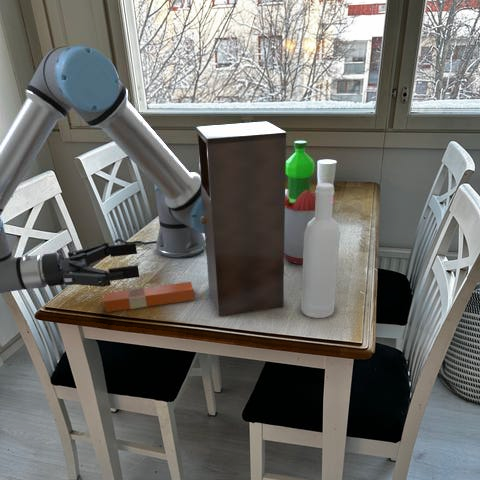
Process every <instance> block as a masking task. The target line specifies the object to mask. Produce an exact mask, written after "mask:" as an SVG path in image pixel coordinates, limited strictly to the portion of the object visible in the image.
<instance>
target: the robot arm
mask: <svg viewBox="0 0 480 480" xmlns="http://www.w3.org/2000/svg"><path fill="white" fill-rule="evenodd" d="M118 73H119V72H118V71H117V69H116V67H115V65H114V64H113V62H112V61H111V60H110V59H109V57H107V56H106V55H105V53H103V52H101V51H99V50H98V49H94V48H93V47H91V46H87V45H71V46H67V45H65V46H64V45H63V46H57V47H55V48H53V49H51V50H49V52H47V53H46V54H45V56H44V57H43V59H42V60H41V61H40V63H39V65H38V67H37V69H36V70H35V72H34V75H33V76H32V78H31V80H30V82H29V84H28V86H27V87H26V89H25V90H24V91H25V96H26V99H25V101H24V102H23V104H22V105H21V107H20V109H19V111H18V113H17V114H16V116H15V117H14V119H13V121H12V123H11V124H10V126H9V127H8V130H7V131H6V132H5V134H4V136H3V138H2V140H1V141H0V216H1V215H2V213H4V210H5V208H6V206H7V204H8V203H9V201H10V200H11V198H12V196H13V195H14V193H15V192H16V190H17V188H18V187H19V185H20V184H21V182H22V180H23V179H24V177H25V175H26V174H27V172H28V171H29V169H30V167H31V165H32V164H33V162H34V161H35V159H36V157H37V155H38V153H39V152H40V151H41V149H42V147H43V146H44V144H45V142H46V141H47V139H48V137H49V136H50V134H51V132H52V131H53V129H54V127H55V126H56V124H57V123H58V121H61V120H65V119H66V117H67V115H68V114H69V112H70V111H72V109H73V111H75V112H76V114H77V115H78V116H79V117H80V118H81V119H82V120H83V121H84V122H85V123H86V124H87V125H88V126H89V127H90V128H100V129H101V130H102V131H103V132H104V133H105V134H106V135H107V136H108V137H109V138H110V139H111V141H112V142H114V143H115V144H116V146H117V147H119V149H120V150H121V151H123V153H124V154H125V155H126V156H127V157H128V158H129V159H130V160H131V161H132V162H133V163H134V164H135V165H136V166H137V167H138V168H139V169H140V171H142V173H143V174H144V175H145V176H146V177H147V178H148V179H149V180H150V181H151V182H152V183H153V184H154V193H155V194H154V195H155V200H156V209H157V215H158V223H159V229H158V234H157V238H156V240H153V241H142V240H134V241H127V240H124V239H122V238H117V239H115V240H114V243H115V244H113V245H109V242H108V241H106V242H105V241H104V242H101V243H98V244H95V245H91V246H88V247H85V248H82V249H79V250H73V251H67V257H62V255H61V253H59V252H51V253H44V254H43V255H40V254H36V255H29V254H25V255H24V256H18V257H14V256H13V252H12V250H11V248H10V244H9V240H8V237H7V234H6V231H5V227H4V221H3V220H2V218H1V217H0V294H4V293H10V292H17V291H24V290H34V289H43V288H47V286H49V287H56V286H57V287H58V286H64V285H65V286H74V285H77V286H88V287H98V288H99V287H100V288H106V287H109V286H111V285H112V283H111V282H113V281H120V280H127V279H135V278H140V270H139V264H133V265H126V266H119V267H111V268H110V267H109V268H108V270H105V269H100V268H96V267H91V266H90V265H91V264H94V263H97V262H98V261H101V260H103V259H105V258H107V257H109V256H110V257H111V258H116V257H123V256H133V255H138V249H137V244H141V245H144V246H145V245H153V244H156V252H157V253H158V254H159V255H160V256H163V257H166V258H170V259H171V258H172V259H179V258H181V259H182V258H188V257H192V256H193V257H194V256H196V255H198V254H201V253H202V252H203V251H205V250H206V243H205V236H204V235H205V230H204V225H202V224H201V219H200V218H201V217H203V204H202V192H201V179H200V174H198V173H197V172H189V170H188V169H187V168H186V167H185V166H184V164H183V163H181V161H180V160H179V159H178V157H177V156H176V155H175V154H174V153H173V152H172V151H171V150H170V148H169V147H168V146H167V145H166V143H164V141H163V140H162V139H161V138H160V137H159V136H158V135H157V133H156V132H155V130H153V128H152V127H151V126H150V125H149V124H148V123H147V121H146V119H144V118H143V117H142V116H141V115H140V113H139V112H138V110H136V109H135V107H134V106H133V105H132V104H131V103H130V102H129V100H128V96H129V95H128V93H129V92H128V89H127V87H126V86H125V85H124V84H123V83H122V82H121V80H120V76H119V74H118ZM118 242H121V243H122V244H117V243H118Z"/></svg>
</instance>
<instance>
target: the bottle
mask: <svg viewBox="0 0 480 480" xmlns="http://www.w3.org/2000/svg"><path fill="white" fill-rule="evenodd" d="M314 193H315V194H316V203H315V217H314V218H313V219H312V220H311V221H310V222H308V225H307V227H306V230H305V233H304V253H303V264H302V276H301V277H302V278H301V279H302V280H301V282H302V284H301V298H300V299H301V300H300V305H301V306H300V308H301V309H300V310H301V312H302V313H303V314H304V315H305V316H307V317H310V318H314V319H323V318H328V317H330V316H331V315H333V314H334V312H335V304H336V289H337V278H338V277H337V276H338V266H339V255H340V241H341V230H340V226H339V223H338V222H337V221H336V220H335V219H334V217H333V218H332V207H333V199H334V195H335V185H332V184H330V183H320V184H318V183H317V184H316V187H315V191H314ZM333 208H334V207H333Z"/></svg>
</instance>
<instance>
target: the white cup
mask: <svg viewBox="0 0 480 480" xmlns="http://www.w3.org/2000/svg"><path fill="white" fill-rule="evenodd" d="M337 163H338V162H337V160H335V159H329V158H327V159H319V160H317V167H316V168H317V173H316V174H317V185H318V184H320V183H330V184H332V185H333V186H335V185H334V183H335V177H336V171H337Z"/></svg>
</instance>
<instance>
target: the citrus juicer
mask: <svg viewBox="0 0 480 480" xmlns="http://www.w3.org/2000/svg"><path fill="white" fill-rule="evenodd" d="M315 203H316V194H315V192H311V190H310V191H308V190H305V191H304V192H303V193H302V194H301V195H300V196H299V197H298V198H297V199H296V201H295V202H293V203H292V202H290V199H289V198H288V197H287V196H285V235H284V259H286V261H289V262H290V263H294V264H297V265H303V253H304V233H305V230H306V227H307V225H308V222H310V221H311V220H312V219H313V218H314V217H315ZM335 203H336V200H335V199H334V198H333V207H332V218H333V219H334V207H335V206H334V205H335Z"/></svg>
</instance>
